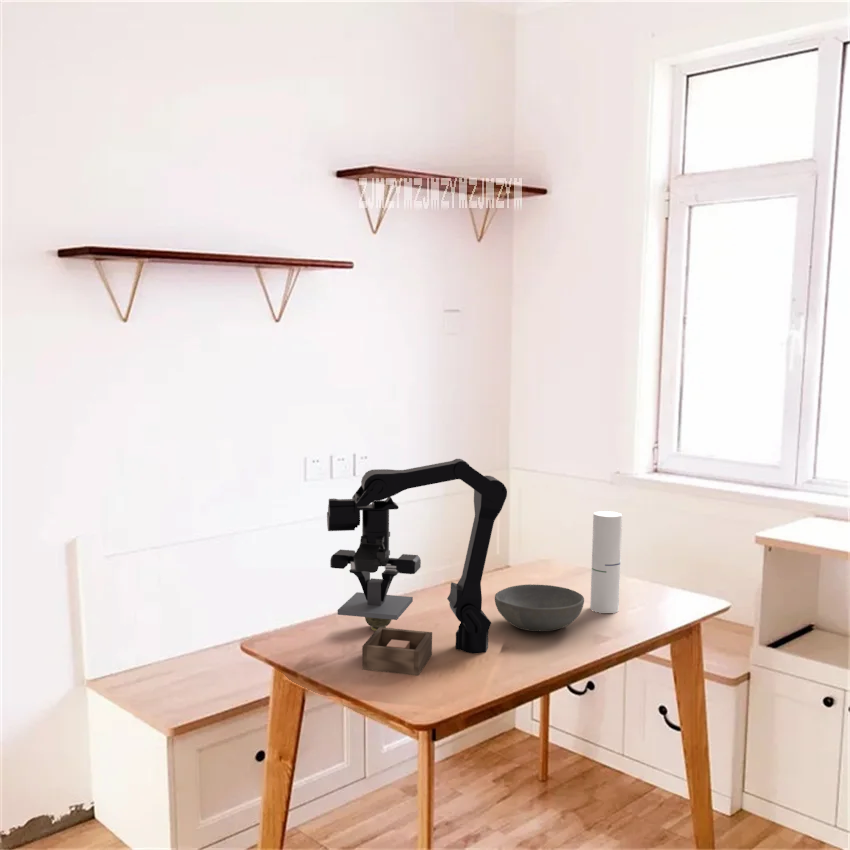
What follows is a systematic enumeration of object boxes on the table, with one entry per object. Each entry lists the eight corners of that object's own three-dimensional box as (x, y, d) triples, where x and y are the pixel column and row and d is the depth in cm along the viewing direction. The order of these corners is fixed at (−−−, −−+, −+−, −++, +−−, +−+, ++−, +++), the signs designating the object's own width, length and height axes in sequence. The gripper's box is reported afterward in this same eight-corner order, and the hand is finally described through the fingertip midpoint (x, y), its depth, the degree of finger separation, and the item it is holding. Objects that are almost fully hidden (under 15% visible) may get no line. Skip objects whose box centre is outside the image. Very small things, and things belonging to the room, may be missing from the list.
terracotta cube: (409, 659, 189) (409, 641, 189) (404, 666, 186) (404, 647, 185) (391, 657, 190) (391, 639, 190) (386, 664, 186) (386, 645, 186)
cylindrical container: (621, 614, 224) (624, 517, 221) (592, 613, 224) (596, 516, 221) (615, 605, 231) (619, 511, 228) (588, 604, 231) (591, 510, 228)
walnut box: (431, 658, 192) (432, 632, 192) (418, 680, 181) (418, 651, 180) (378, 653, 195) (379, 627, 195) (362, 674, 184) (362, 646, 183)
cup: (366, 638, 204) (366, 605, 203) (359, 628, 211) (359, 595, 210) (397, 636, 206) (397, 603, 205) (390, 625, 213) (390, 593, 212)
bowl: (519, 647, 200) (520, 613, 199) (479, 618, 219) (480, 587, 219) (599, 636, 208) (600, 603, 207) (554, 609, 227) (555, 579, 226)
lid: (412, 601, 196) (412, 574, 196) (396, 620, 184) (397, 591, 183) (356, 596, 199) (356, 570, 199) (337, 614, 187) (337, 586, 186)
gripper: (321, 535, 184) (321, 608, 185) (408, 541, 179) (407, 616, 181) (339, 523, 194) (339, 592, 196) (421, 529, 190) (420, 599, 192)
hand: (375, 600), depth 191 cm, fingers closed on lid, 3 cm apart
